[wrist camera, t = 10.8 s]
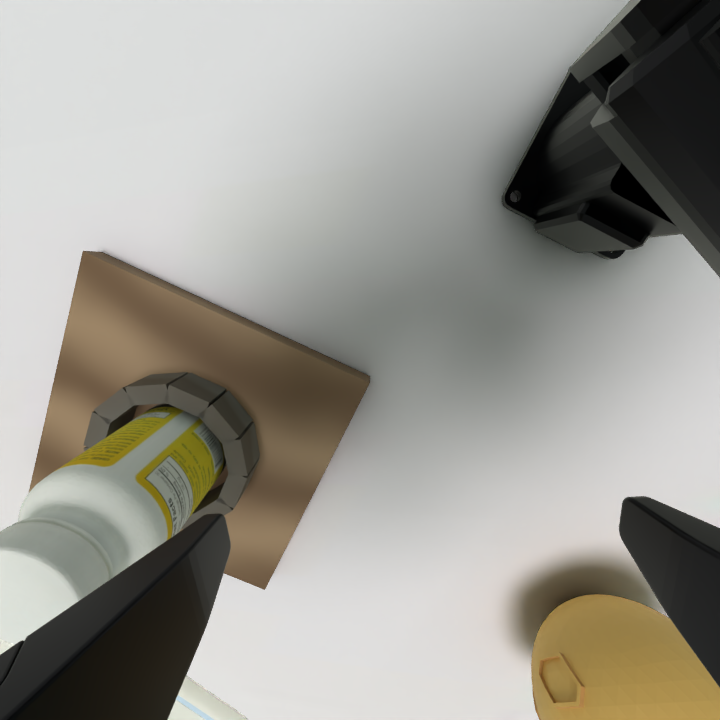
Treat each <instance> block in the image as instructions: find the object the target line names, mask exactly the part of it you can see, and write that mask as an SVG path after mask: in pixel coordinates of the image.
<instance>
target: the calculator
mask: <svg viewBox="0 0 720 720" xmlns="http://www.w3.org/2000/svg"><path fill="white" fill-rule="evenodd" d="M14 645H15V644H12V643H9V642H6V641H4V640H2V639H0V655H1V654H2V653H3V652H5V651H6V650H8V649H9V648H11V647H12V646H14ZM168 720H248V719H247V718H246V717H245V716H243V715H242V714H241V713H239V712H238V711H237V710H235V709H234V708H232V707H231V706H230V705H228V704H227V703H225V702H224V701H222V700H221V699H219V698H218V697H217V696H215V695H214V694H212V693H211V692H209V691H208V690H206V689H205V688H204V687H202V686H201V685H199V684H198V683H196V682H195V681H193V680H192V679H191V678H189V677H188V676H186V677H185V679H184V681H183V684H182V686H181V689H180V691H179V693H178V696H177V698H176V701H175V703H174V705H173V708H172V710H171V713H170V715H169V717H168Z"/></svg>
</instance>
